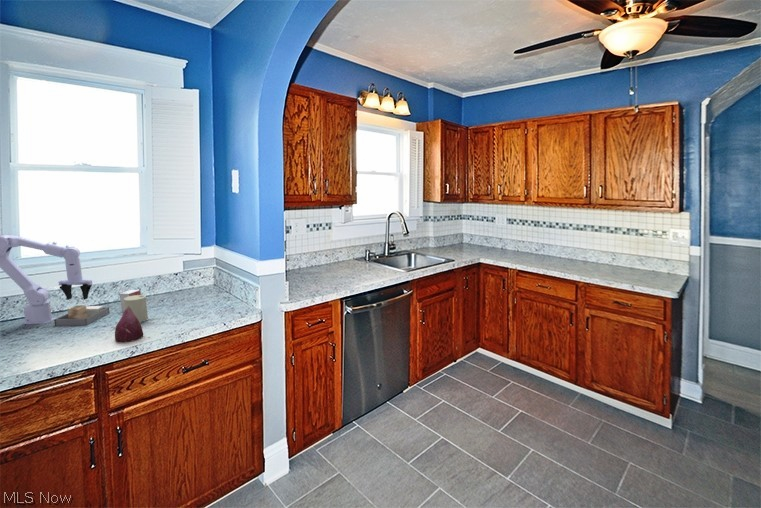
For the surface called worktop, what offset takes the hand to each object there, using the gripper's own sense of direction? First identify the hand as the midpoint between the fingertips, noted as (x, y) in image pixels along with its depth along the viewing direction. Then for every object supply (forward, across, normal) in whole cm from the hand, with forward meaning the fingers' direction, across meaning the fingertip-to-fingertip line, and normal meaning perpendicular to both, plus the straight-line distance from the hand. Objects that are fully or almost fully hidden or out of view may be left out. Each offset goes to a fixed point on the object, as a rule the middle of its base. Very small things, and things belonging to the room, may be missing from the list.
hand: (77, 298), depth 196 cm
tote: (+9, +5, -5) cm, 11 cm away
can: (+10, +31, -6) cm, 33 cm away
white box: (+9, +5, +1) cm, 10 cm away
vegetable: (+10, +39, -29) cm, 50 cm away
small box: (+10, +20, +9) cm, 24 cm away
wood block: (+9, +5, -8) cm, 13 cm away
